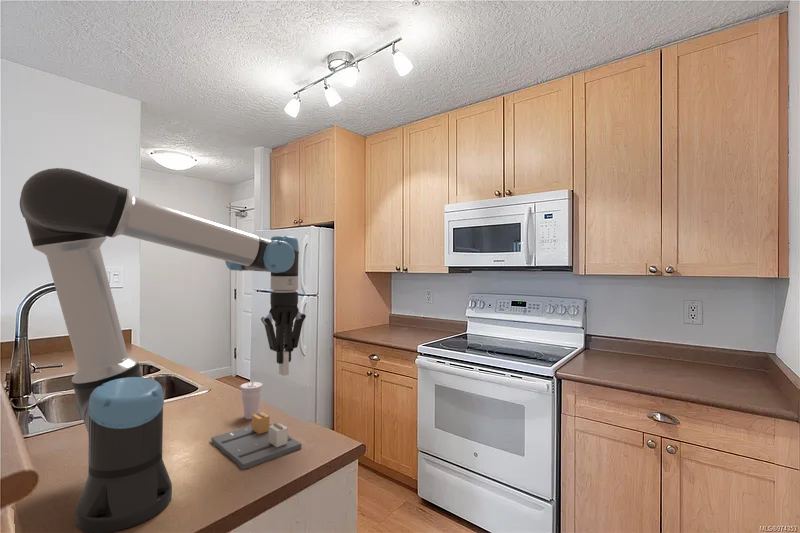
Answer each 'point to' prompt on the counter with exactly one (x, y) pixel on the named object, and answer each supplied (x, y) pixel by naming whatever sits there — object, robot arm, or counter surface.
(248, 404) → the smoothie
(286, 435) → the cream fader
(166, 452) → the counter surface
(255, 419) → the orange fader
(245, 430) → the fader board
